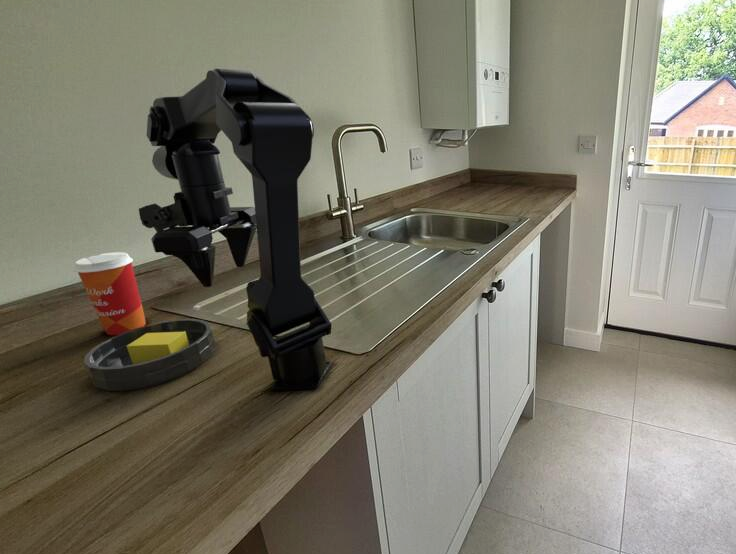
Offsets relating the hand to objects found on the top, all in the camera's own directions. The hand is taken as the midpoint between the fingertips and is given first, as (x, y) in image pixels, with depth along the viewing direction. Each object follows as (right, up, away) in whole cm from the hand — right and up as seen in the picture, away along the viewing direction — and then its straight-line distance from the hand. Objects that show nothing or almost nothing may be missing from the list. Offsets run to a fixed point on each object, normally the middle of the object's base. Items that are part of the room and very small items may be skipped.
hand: (225, 276), depth 69 cm
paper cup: (-24, -10, +8) cm, 28 cm away
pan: (-8, -14, -3) cm, 16 cm away
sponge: (-7, -13, -4) cm, 16 cm away
